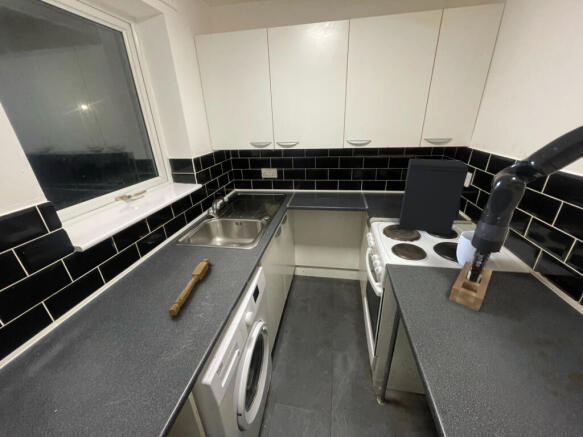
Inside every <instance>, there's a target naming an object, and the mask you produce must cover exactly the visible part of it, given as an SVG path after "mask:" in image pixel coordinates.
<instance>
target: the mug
mask: <svg viewBox="0 0 583 437" xmlns="http://www.w3.org/2000/svg"><path fill="white" fill-rule="evenodd" d="M474 232H475V230H465V231H462V232H461V233H460V236H459V239H458V242H457V246H456V259H457V262H458V263H459V265H460V266H462V267H463V266H464V264H465V262H466V261H467V262H470V263H472V261H473V258H474V257H473V256H474V253H475V251H476V248H474V247H473V246H472V245H471V241H472V238H473V235H474ZM492 254H493V253H491V255H492ZM490 257H491V256H490ZM490 257H489V259H490Z"/></svg>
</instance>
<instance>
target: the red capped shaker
mask: <svg viewBox="0 0 583 437" xmlns="http://www.w3.org/2000/svg"><path fill="white" fill-rule="evenodd" d="M472 266H473V265H471V268H470V270H471V269H472ZM483 270H484V268H483V269H482V270H481V274H480V275H479V277H478V280H477V282H476V283H479V280H480V278H481V275H482V272H483ZM470 274H471V271H469V273H468V276H467V279H468V280H469V277H470Z"/></svg>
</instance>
